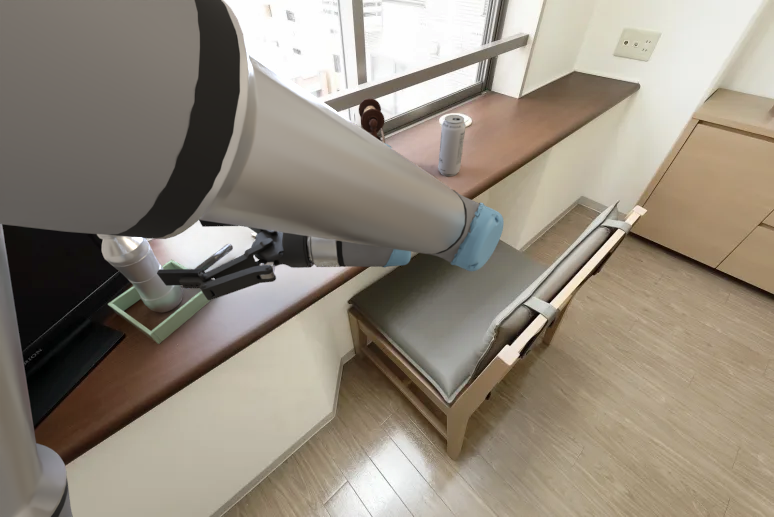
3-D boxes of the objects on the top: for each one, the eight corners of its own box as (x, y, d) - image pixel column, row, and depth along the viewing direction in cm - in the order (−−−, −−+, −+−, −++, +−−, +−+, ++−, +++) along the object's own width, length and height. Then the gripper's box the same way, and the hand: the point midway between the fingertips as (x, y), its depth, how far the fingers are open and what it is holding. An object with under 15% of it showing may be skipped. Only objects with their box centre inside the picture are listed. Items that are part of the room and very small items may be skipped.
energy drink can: (439, 165, 98) (444, 113, 88) (460, 167, 97) (467, 114, 86) (436, 175, 94) (440, 122, 84) (457, 178, 93) (465, 124, 82)
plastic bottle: (179, 284, 69) (121, 203, 54) (193, 303, 65) (135, 221, 51) (146, 302, 66) (75, 222, 51) (158, 323, 62) (86, 242, 48)
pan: (158, 344, 59) (149, 335, 57) (116, 313, 64) (107, 304, 62) (256, 262, 72) (251, 252, 70) (215, 242, 77) (209, 232, 75)
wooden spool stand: (405, 188, 90) (406, 112, 76) (350, 194, 89) (340, 118, 75) (396, 161, 101) (396, 90, 87) (347, 166, 100) (338, 94, 85)
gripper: (303, 323, 48) (156, 324, 48) (328, 214, 65) (220, 216, 66) (291, 289, 42) (126, 291, 43) (321, 180, 60) (203, 183, 61)
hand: (182, 245), depth 54 cm, fingers open, 13 cm apart
